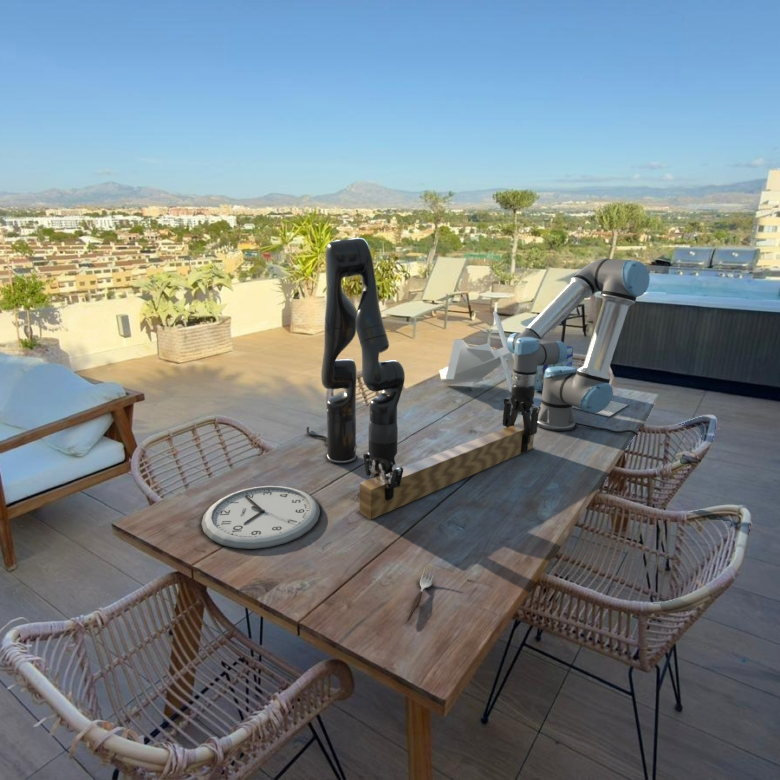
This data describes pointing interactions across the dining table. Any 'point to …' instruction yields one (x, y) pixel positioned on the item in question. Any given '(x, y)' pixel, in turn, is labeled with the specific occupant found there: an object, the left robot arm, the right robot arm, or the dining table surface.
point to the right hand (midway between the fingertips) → (517, 449)
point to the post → (442, 470)
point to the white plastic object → (477, 360)
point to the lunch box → (542, 368)
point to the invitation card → (611, 408)
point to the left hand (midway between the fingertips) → (382, 495)
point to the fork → (424, 584)
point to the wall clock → (260, 517)
